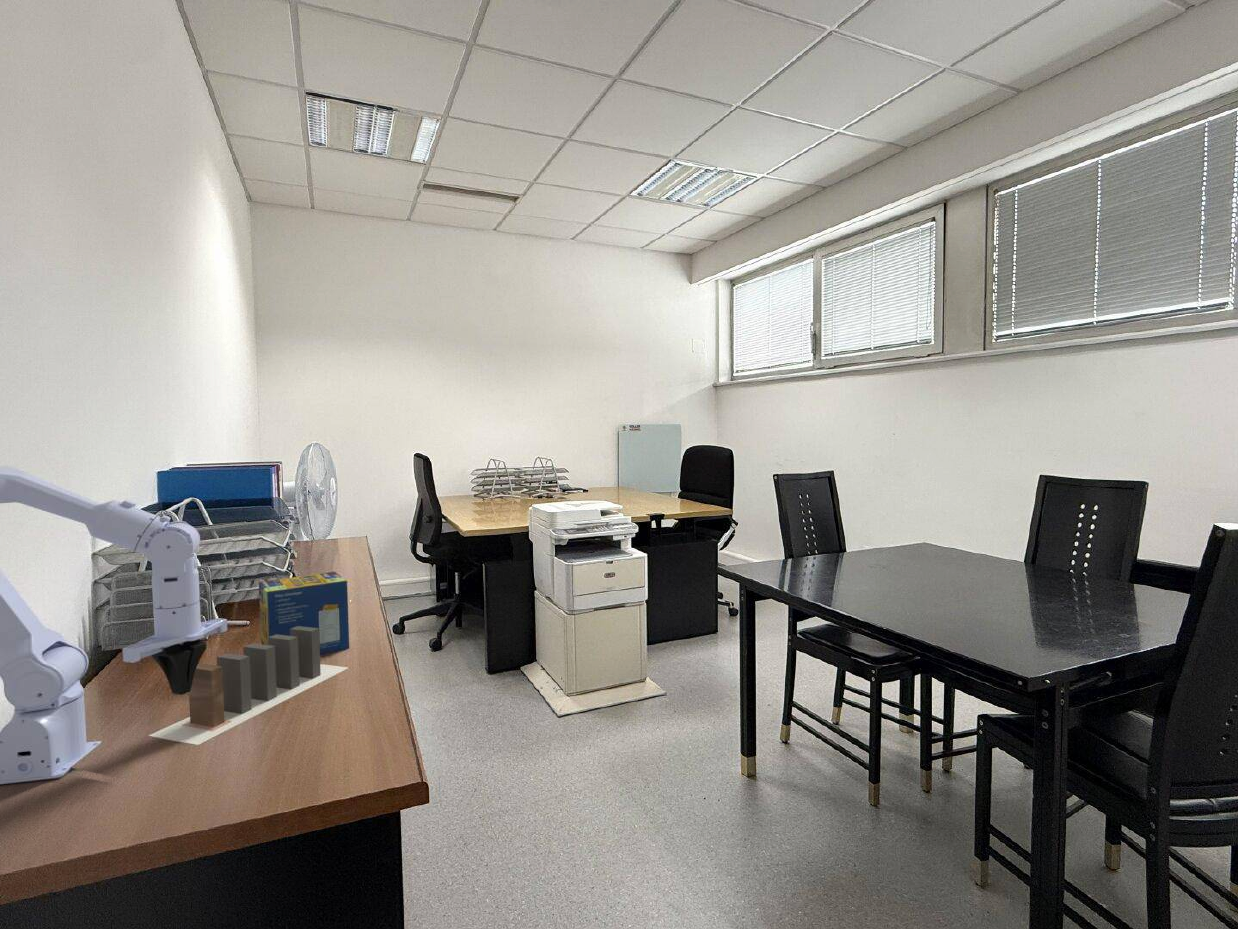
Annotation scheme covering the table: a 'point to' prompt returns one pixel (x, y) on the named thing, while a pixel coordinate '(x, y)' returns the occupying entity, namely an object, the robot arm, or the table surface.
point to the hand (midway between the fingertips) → (181, 692)
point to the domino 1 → (207, 696)
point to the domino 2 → (236, 682)
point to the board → (200, 733)
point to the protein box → (307, 608)
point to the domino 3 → (262, 671)
